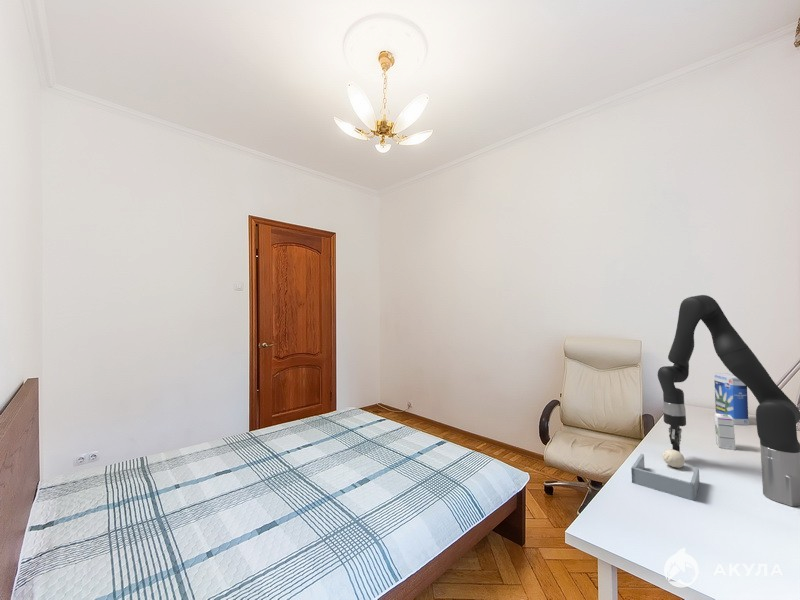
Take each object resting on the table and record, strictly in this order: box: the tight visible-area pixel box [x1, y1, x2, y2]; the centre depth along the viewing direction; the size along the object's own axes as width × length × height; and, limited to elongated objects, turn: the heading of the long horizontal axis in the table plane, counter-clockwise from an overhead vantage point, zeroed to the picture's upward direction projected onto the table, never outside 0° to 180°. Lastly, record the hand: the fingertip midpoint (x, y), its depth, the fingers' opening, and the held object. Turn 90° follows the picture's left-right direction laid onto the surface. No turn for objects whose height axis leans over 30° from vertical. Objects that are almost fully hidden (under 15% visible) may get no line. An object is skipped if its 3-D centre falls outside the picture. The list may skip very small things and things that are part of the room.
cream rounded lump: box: [662, 448, 686, 469], centre depth 139 cm, size 7×7×7 cm
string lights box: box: [713, 372, 749, 426], centre depth 191 cm, size 13×8×26 cm, turn 172°
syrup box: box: [713, 413, 736, 451], centre depth 157 cm, size 6×6×14 cm
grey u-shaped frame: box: [631, 453, 701, 502], centre depth 127 cm, size 17×18×6 cm
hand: (676, 453), depth 145 cm, fingers closed
